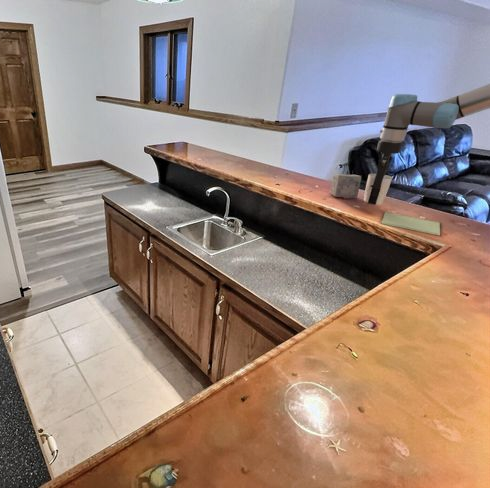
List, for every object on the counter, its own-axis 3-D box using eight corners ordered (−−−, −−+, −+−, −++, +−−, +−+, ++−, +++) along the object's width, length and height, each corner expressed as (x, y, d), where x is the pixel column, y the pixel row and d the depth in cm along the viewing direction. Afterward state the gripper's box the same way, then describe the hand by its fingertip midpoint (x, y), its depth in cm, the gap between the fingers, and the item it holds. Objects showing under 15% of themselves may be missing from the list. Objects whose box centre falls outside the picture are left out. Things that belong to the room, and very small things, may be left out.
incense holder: (350, 194, 161) (356, 172, 156) (356, 200, 154) (363, 177, 149) (328, 193, 162) (333, 171, 158) (333, 199, 155) (339, 176, 150)
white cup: (364, 203, 133) (371, 178, 128) (359, 197, 140) (366, 172, 135) (387, 205, 131) (395, 180, 127) (380, 199, 138) (388, 174, 134)
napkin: (439, 223, 132) (439, 222, 132) (439, 235, 121) (440, 235, 121) (385, 212, 141) (385, 211, 141) (381, 223, 130) (381, 222, 130)
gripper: (382, 135, 135) (366, 192, 145) (375, 143, 120) (358, 206, 130) (405, 138, 131) (386, 196, 141) (401, 146, 116) (380, 210, 126)
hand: (373, 200), depth 135 cm, fingers closed on white cup, 8 cm apart
